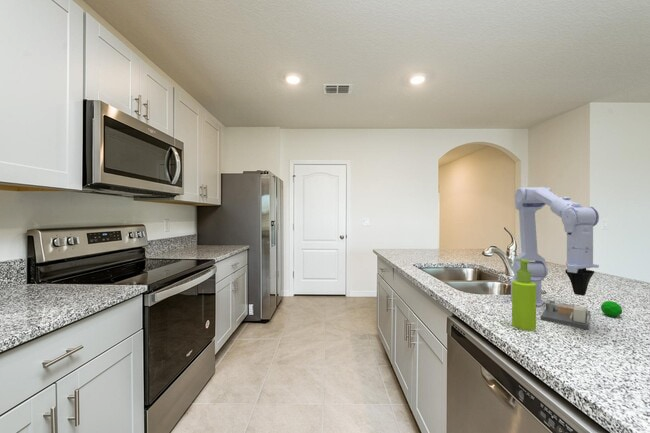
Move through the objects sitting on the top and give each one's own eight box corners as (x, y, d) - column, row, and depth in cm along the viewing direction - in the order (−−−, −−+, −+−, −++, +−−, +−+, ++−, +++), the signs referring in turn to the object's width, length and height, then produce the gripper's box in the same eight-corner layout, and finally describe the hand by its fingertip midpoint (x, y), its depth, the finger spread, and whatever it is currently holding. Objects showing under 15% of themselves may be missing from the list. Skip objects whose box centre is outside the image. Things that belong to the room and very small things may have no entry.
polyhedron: (597, 314, 94) (597, 300, 94) (605, 312, 96) (605, 298, 96) (617, 319, 89) (617, 304, 89) (625, 317, 91) (625, 303, 91)
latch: (573, 320, 85) (573, 309, 85) (574, 316, 89) (574, 305, 89) (585, 323, 83) (585, 311, 83) (586, 318, 87) (586, 307, 87)
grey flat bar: (550, 306, 94) (550, 304, 94) (551, 304, 96) (551, 302, 96) (587, 313, 88) (587, 311, 88) (587, 311, 90) (587, 308, 90)
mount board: (540, 319, 89) (540, 307, 89) (548, 306, 102) (548, 296, 102) (588, 329, 81) (588, 316, 81) (590, 314, 94) (590, 303, 94)
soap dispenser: (530, 323, 86) (530, 258, 86) (539, 331, 80) (539, 261, 80) (508, 320, 88) (508, 257, 88) (515, 329, 82) (515, 260, 82)
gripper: (591, 251, 74) (591, 302, 74) (604, 248, 83) (604, 293, 83) (557, 248, 80) (557, 296, 80) (573, 245, 88) (573, 288, 88)
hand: (579, 294), depth 82 cm, fingers closed
